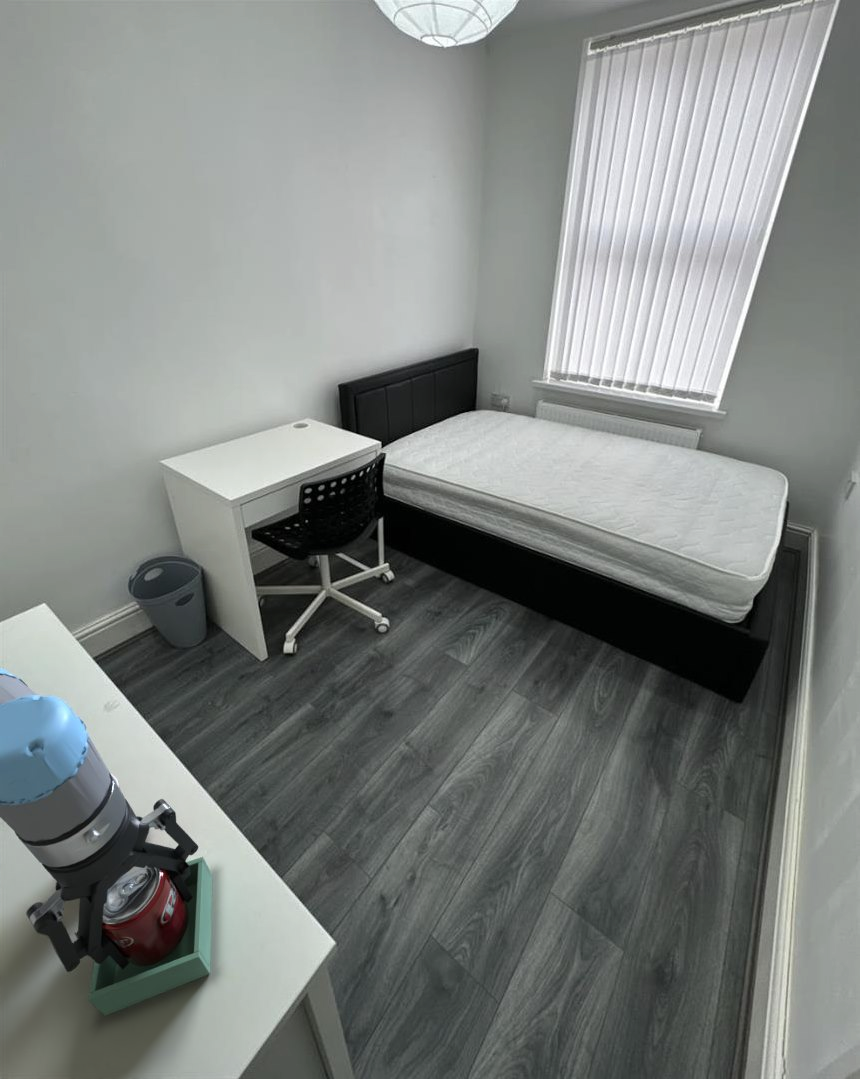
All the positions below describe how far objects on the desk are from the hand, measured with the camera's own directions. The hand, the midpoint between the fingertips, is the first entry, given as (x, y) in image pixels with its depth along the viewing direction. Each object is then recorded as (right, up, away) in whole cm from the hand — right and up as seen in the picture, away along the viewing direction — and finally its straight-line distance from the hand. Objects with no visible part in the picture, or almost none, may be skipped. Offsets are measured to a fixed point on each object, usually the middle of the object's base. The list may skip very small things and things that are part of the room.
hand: (153, 923), depth 58 cm
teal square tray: (0, -4, +3) cm, 5 cm away
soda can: (0, -2, +1) cm, 2 cm away
